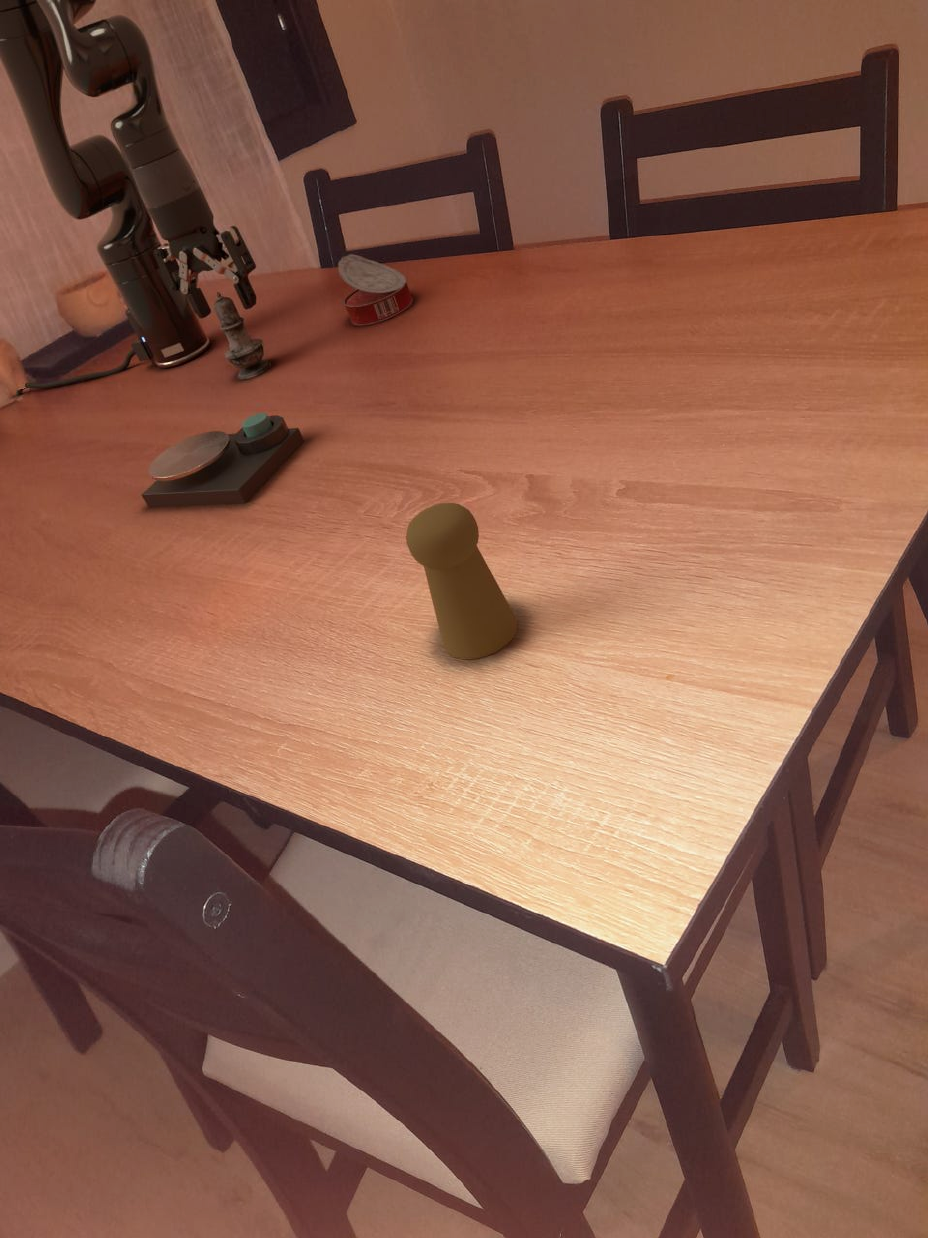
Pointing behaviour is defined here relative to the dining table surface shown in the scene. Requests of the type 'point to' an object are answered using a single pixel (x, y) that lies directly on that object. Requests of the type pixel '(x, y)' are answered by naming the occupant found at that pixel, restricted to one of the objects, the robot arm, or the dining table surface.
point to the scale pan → (189, 456)
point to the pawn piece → (460, 582)
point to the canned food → (373, 290)
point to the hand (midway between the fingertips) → (228, 311)
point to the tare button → (256, 425)
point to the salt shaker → (240, 341)
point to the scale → (231, 470)
